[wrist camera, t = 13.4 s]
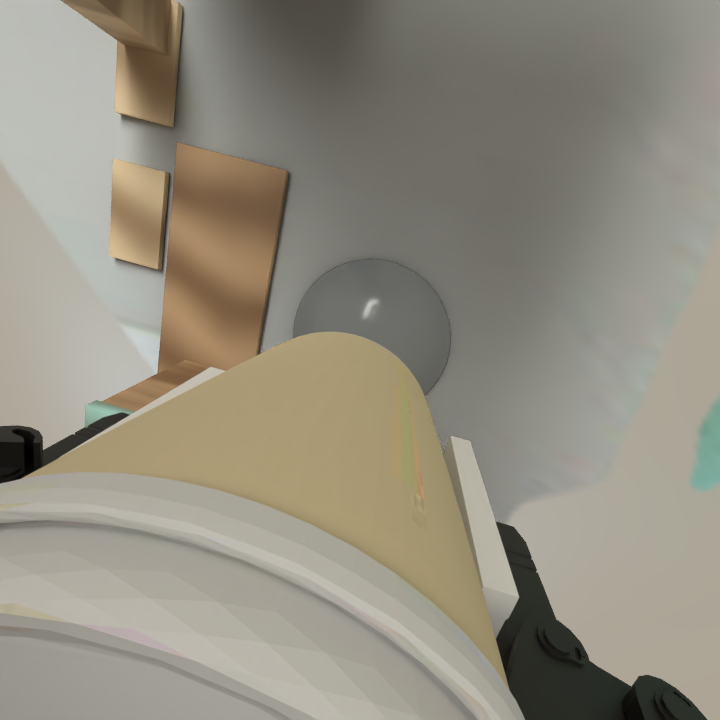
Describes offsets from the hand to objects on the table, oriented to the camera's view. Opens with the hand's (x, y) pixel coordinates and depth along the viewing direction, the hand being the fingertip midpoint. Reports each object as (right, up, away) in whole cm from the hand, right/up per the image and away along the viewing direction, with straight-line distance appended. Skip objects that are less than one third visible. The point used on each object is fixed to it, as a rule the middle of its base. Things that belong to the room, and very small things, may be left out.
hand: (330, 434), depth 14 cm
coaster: (+2, +4, +15) cm, 15 cm away
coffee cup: (0, 0, +1) cm, 1 cm away
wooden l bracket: (-10, +8, +15) cm, 20 cm away
